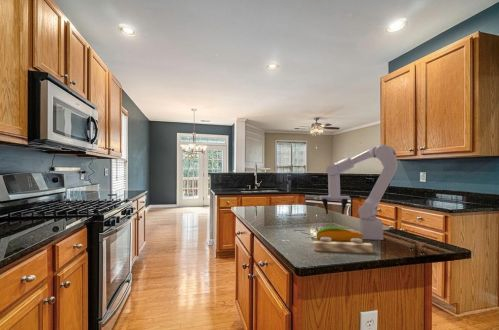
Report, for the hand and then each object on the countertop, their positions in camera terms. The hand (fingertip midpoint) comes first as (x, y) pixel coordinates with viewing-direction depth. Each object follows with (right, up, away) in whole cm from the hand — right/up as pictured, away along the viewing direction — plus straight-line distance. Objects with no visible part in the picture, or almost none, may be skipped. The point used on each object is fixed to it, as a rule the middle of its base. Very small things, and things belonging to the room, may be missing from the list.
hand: (334, 213), depth 129 cm
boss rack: (-7, -9, -27) cm, 30 cm away
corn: (-4, -10, -19) cm, 21 cm away
